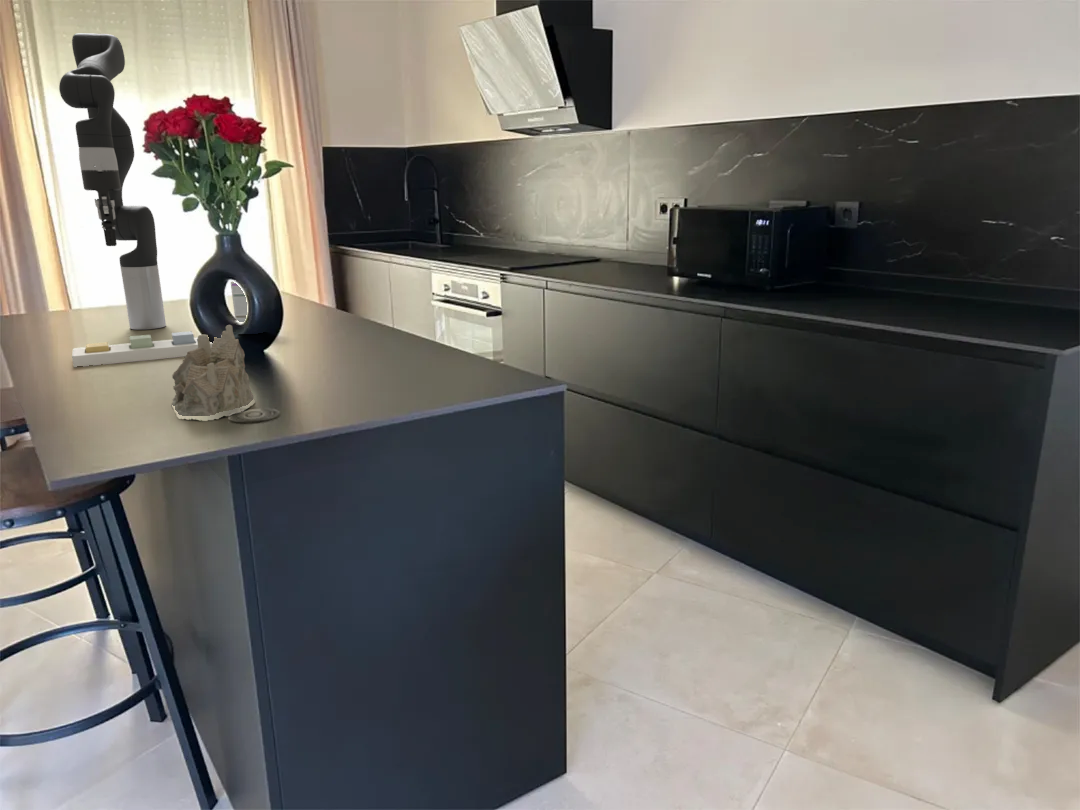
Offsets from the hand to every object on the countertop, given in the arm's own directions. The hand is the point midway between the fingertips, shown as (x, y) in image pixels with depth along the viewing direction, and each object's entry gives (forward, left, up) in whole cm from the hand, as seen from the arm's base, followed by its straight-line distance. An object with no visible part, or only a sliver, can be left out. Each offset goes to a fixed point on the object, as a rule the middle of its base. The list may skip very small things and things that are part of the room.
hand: (111, 245), depth 181 cm
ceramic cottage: (+64, +11, -25) cm, 69 cm away
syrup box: (-8, +30, -25) cm, 40 cm away
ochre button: (+10, -6, -24) cm, 27 cm away
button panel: (+10, +5, -25) cm, 27 cm away
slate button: (+10, +12, -23) cm, 28 cm away
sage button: (+10, +3, -23) cm, 26 cm away
